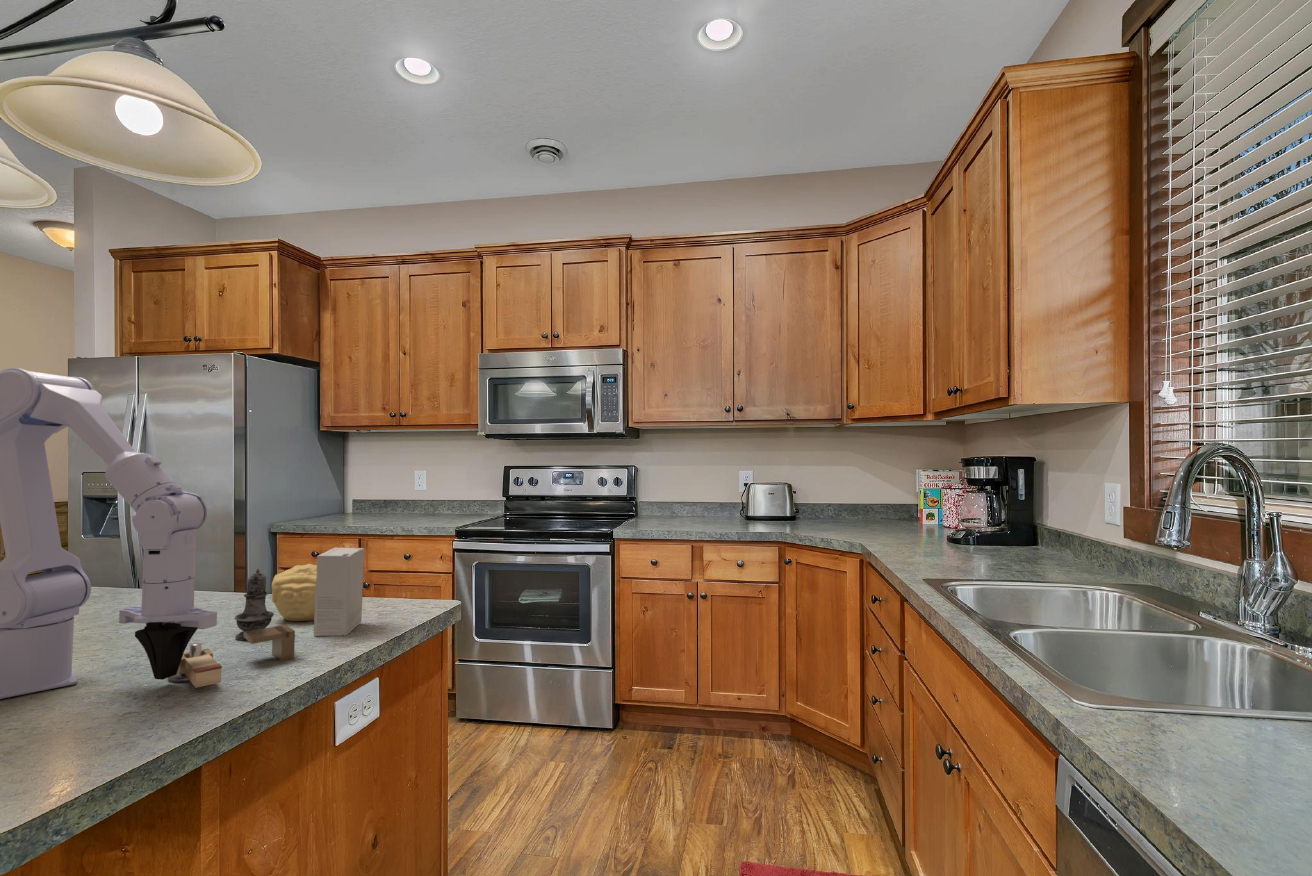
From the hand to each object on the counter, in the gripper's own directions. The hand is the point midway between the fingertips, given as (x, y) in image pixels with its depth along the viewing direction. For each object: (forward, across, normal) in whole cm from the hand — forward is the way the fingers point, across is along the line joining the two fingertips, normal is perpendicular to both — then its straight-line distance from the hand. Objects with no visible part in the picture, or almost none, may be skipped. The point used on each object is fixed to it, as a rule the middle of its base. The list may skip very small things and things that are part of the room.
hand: (165, 676), depth 82 cm
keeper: (+1, +5, +12) cm, 13 cm away
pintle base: (+1, 0, +4) cm, 4 cm away
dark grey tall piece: (+1, -8, +22) cm, 23 cm away
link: (0, +3, +2) cm, 4 cm away
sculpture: (+2, -8, +35) cm, 36 cm away
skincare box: (+2, +4, +29) cm, 29 cm away
